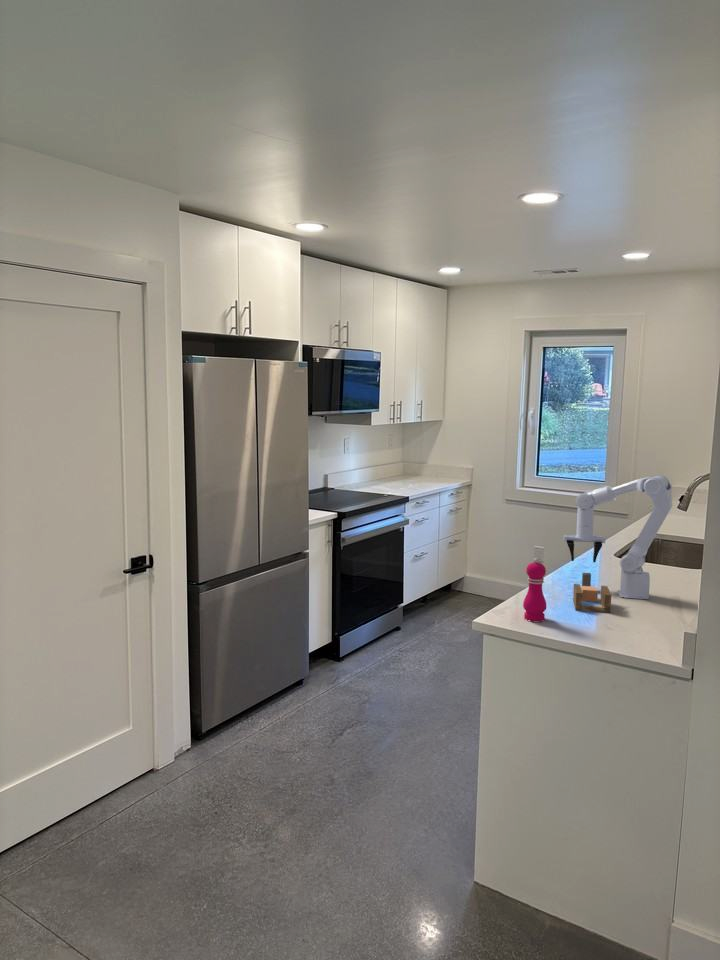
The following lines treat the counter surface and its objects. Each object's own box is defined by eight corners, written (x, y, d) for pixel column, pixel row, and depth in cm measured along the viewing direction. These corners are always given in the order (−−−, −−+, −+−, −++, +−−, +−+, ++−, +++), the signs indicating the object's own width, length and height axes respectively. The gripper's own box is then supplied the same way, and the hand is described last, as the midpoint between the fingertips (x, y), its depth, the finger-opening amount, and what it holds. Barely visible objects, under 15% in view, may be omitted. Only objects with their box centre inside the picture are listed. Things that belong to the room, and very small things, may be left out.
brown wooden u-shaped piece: (606, 602, 234) (607, 585, 233) (610, 612, 223) (611, 595, 223) (573, 600, 237) (573, 583, 236) (575, 610, 226) (576, 592, 225)
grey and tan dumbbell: (592, 589, 250) (593, 573, 249) (597, 602, 235) (598, 585, 234) (578, 588, 251) (579, 572, 250) (582, 601, 236) (582, 584, 235)
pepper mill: (533, 624, 213) (535, 561, 210) (517, 617, 219) (519, 556, 216) (550, 620, 216) (553, 559, 213) (535, 613, 222) (537, 554, 220)
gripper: (604, 523, 252) (602, 559, 254) (563, 522, 255) (562, 557, 257) (606, 527, 245) (605, 564, 247) (564, 525, 249) (563, 561, 250)
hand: (583, 561), depth 252 cm, fingers open, 7 cm apart
